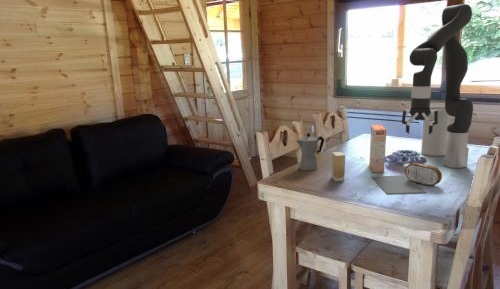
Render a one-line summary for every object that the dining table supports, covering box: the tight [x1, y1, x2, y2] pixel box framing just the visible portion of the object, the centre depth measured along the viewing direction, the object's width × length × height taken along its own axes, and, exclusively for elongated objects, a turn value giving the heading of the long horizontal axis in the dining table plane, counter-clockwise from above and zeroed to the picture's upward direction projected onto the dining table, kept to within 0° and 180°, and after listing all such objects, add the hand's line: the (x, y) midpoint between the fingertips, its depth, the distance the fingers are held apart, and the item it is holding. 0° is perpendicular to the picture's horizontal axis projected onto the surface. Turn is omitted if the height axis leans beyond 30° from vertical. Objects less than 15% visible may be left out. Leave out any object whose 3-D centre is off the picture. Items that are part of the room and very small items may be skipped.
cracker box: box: [369, 124, 387, 173], centre depth 193 cm, size 14×6×21 cm, turn 168°
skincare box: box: [331, 151, 346, 182], centre depth 181 cm, size 6×4×12 cm
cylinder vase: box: [421, 106, 451, 157], centre depth 214 cm, size 12×12×25 cm
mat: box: [371, 174, 428, 195], centre depth 172 cm, size 16×22×1 cm
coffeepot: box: [296, 132, 325, 171], centre depth 199 cm, size 15×9×18 cm, turn 110°
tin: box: [404, 161, 443, 187], centre depth 171 cm, size 15×3×8 cm, turn 45°
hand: (418, 133), depth 173 cm, fingers open, 8 cm apart
